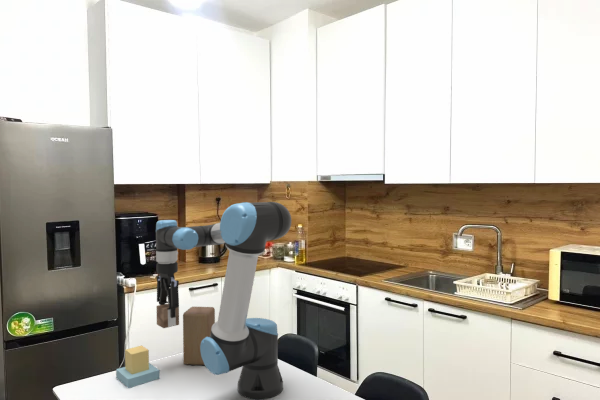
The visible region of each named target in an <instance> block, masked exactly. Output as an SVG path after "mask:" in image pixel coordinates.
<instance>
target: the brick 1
mask: <svg viewBox="0 0 600 400" xmlns="http://www.w3.org/2000/svg"><path fill="white" fill-rule="evenodd" d="M124 351H125V352H124V360H125V361H124V362H125V366H124V367H125V369H126V370H127V371H128V372H130V373H131V374H135V373H139V372H142V371H145V370H149V363H150V361H149V360H150V356H149V355H150V354H149V353H150V352H149V351H150V350H149V349H148V348H146V347H145V346H144V345H137V346H134V347H130V348H126V349H124Z"/></svg>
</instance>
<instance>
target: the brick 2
mask: <svg viewBox="0 0 600 400" xmlns="http://www.w3.org/2000/svg"><path fill="white" fill-rule="evenodd" d="M167 308H169V304H168V303H166V304H163V305H159V304H158V305H156V325H157V326H159V327H160V328H162V329H167V328H169V327H168V309H167ZM176 326H180V306H179V307H178V308H176ZM172 327H173V326H171V328H172Z"/></svg>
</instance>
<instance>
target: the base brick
mask: <svg viewBox="0 0 600 400" xmlns="http://www.w3.org/2000/svg"><path fill="white" fill-rule="evenodd" d="M115 375H116V380H118V381H119V382H121V383H122V384H123V385H124V386H125V387H126V388H127V389H130V388H133V387H136V386H137V387H138V386H139V385H143V384H146V383H149V382H152V381H155V380H159V379H160V369H159V368H157V367H156V366H155V365H153V364H152V363H150V362H149V370H145V371H142V372H139V373H135V374H131V373H130V372H128V371H127V370H126V369H125V366H122V367H119V368H116V371H115Z"/></svg>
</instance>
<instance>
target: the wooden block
mask: <svg viewBox="0 0 600 400" xmlns="http://www.w3.org/2000/svg"><path fill="white" fill-rule="evenodd" d="M215 315H216V310H215V307H213V306H191V307H189V308H188V309H187V310H185V312H183V315H182V336H183V338H182V342H183V343H182V345H183V348H182V349H183V350H182V351H183V359H182V361H183V364H184V365H196V366H197V365H199V366H205V364H204V362H203V360H202V357H201V352H200V345H201V341H202V340H203V339H204V338H206V337H209V336H210V334H211V328H212V325H213V324H214V323H215V322H216V316H215Z"/></svg>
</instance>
